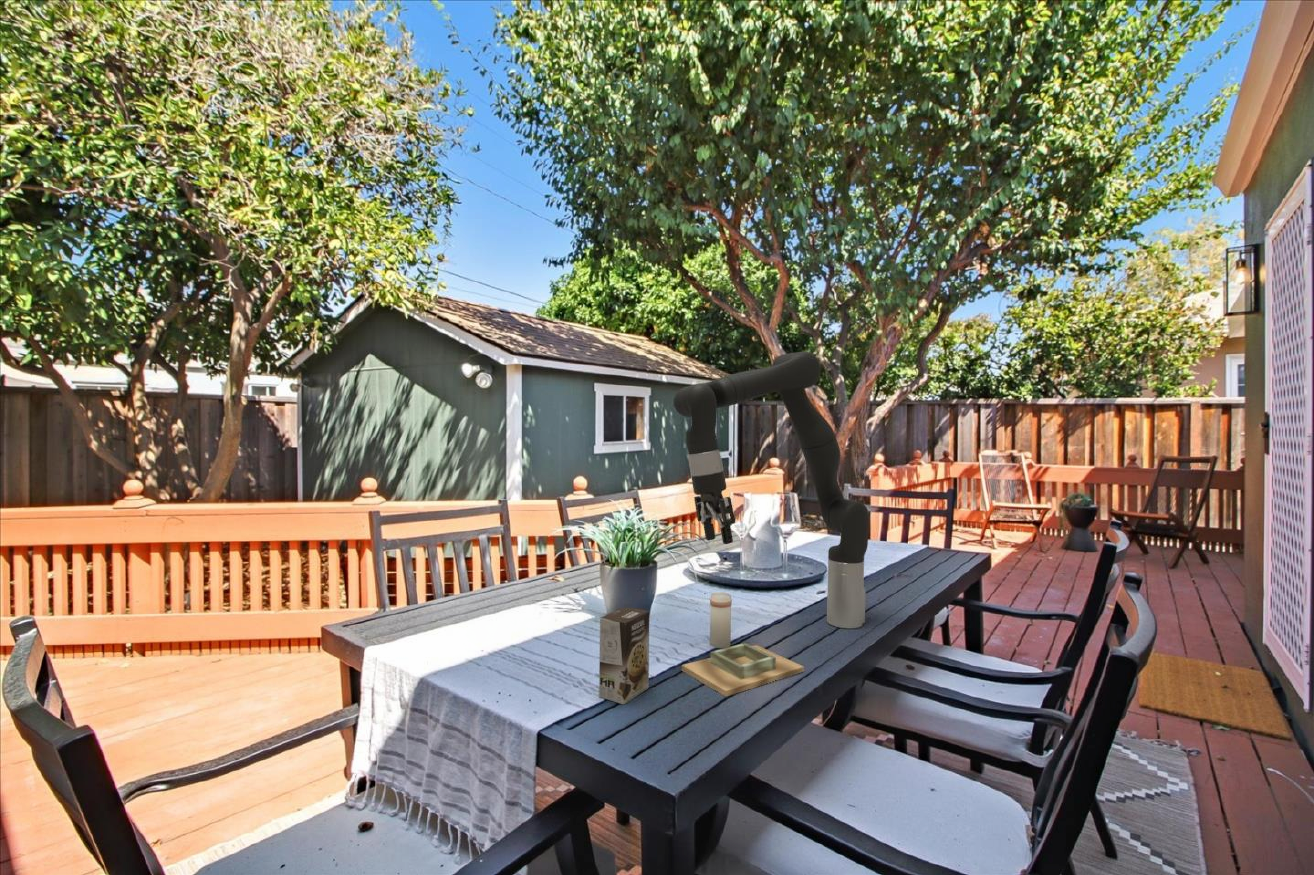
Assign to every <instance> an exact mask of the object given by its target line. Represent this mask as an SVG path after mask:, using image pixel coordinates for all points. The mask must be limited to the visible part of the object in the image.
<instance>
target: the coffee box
mask: <svg viewBox="0 0 1314 875" xmlns="http://www.w3.org/2000/svg"><path fill="white" fill-rule="evenodd" d="M598 671H599V673H598V674H599V675H598V677H599V679H598V697H599V698H602V699H605V700H608V701H611V702H613V703H614V702H615V703H618V704H621V705H625V704H627V703H628V702H630V701H631V700H633V699H634V698H636V697H638V696H639V695H640V694H642V693H644V692H645V691H647V690H648V689H649V684H650V683H649V680H650V679H649V678H650V677H649V675H650V672H649V671H650V611H649V610H645V609H641V608H636V607H635V608H634V607H629V606H623V607H622V608H620V609H617V610H615V611H613V612H610V613H608V614H606V615H603V616H600V618H599V670H598Z"/></svg>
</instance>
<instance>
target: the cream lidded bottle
mask: <svg viewBox="0 0 1314 875" xmlns="http://www.w3.org/2000/svg"><path fill="white" fill-rule="evenodd" d="M732 601H733V599H732V595H731V594H729V593H726V592H714V593H711V594H710V598H709V605H710V611H709V612H710V614H709V622H710V624H709V645H710V646H711V647H712V648H715V647H717V648H716V649H724V648H728V647H731V646H732V645H731V642H732V641H731V639H732V631H731V629H732V604H733V602H732Z"/></svg>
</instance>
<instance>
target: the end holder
mask: <svg viewBox="0 0 1314 875" xmlns="http://www.w3.org/2000/svg"><path fill="white" fill-rule="evenodd" d="M681 671H682V672H684V673H685V674H687V676H689V677H692V678H693V679H695V678H696V679H695V680H697V681H698V680H699V682H700V683H702V684H704V686H707V687H708V688H710V689H712V690H714V691H715V690H716V692H717V691H718V693H719V694H720V695H722V696H723V697H725V696H726V697H729V696H733V695H737V694H740V693H743V692H746V691H748V689H749V690H752V689H754V688H758V686H759V687H760V686H761V685H762V686H764V684H765V685H767V684H766V683H768V682H771V683H773V682H772V681H774V682H776V681H775V680H777V681H779V680H778V679H780V678H784V679H786V678H785V677H787V678H789V677H788V676H790V677H792V676H791V675H793V676H795V675H794V674H796V675H798V674H797V673H799V672H801V671H804V672H805V666H803V665H801V664H799V663H797V662H794V661H793V660H791V659H788V658H786V657H784V656H781V655H779V654H777V653H775V652H773V651H771V650H768V649H766V648H764V647H762V646H760V645H759V644H758V645H750V644H748V643H746V642H744V643H740V644H735V645H731V646H730V647H728V648H719V649H717V650H714V651H710V657H708V658H704V659H700V660H697V661H692V662H689V663H685V664H682V665H681ZM768 684H769V683H768ZM745 690H746V691H745ZM742 691H743V692H742Z"/></svg>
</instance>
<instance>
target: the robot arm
mask: <svg viewBox="0 0 1314 875" xmlns="http://www.w3.org/2000/svg"><path fill="white" fill-rule="evenodd" d="M821 373H822V367H821V363H820V360H819V359H818V358H817V356H816V355H814V354H813V353H811V352H808V351H807V352H806V351H799V352H798V351H797V352H789V353H784V354H780V355H778V356H776V357H775V359H774V360H773V362H772V364H771V366H768V367H762V368H757V369H752V370H751V369H750V370H745V371H740V372H736V373H732V374H728V375H724V376H722V377H719V378H716V379H714V380H711V381H707V382H702V383H701V382H700V383H695V384H691V385H688V386H684V387H682V388H680V389H679V390H678V391H677V392H676V394H675V395H674V397H673V407H674V409H675V411H676V412H677V413H678V414H679V415H681V416H683V417H687V418H691V419H690V422H691V423H690V428H688V429H687V430H686V431H685V442H686V443H685V444H686V449H687V454H688V466H689V470H690V471H689V472H690V473H689V474H690V477H691V483H692V490H693V494H694V495H697V496H694V498H693V500H694V505H695V506H694V507H695V512H696V518H697V522H701V525H702V526H703V531H704V534H705V535H704V536H705V540H706V541H712V540H715V539H716V534H715V526H714V523H713V521H714V520H715V521H717V523H718V524H719V526H720V533H721V534H720V535H721V540H722V543H723V544H724V545H729V544H732V543H733V541H734V540H733V539H734V538H733V533H732V527H731V526H732V525H734V524H736V518H735V514H734V508H733V503H732V498H731V497H730V496H726V497H724V496H723V493H722V492H723V491H725V490H727V482H726V477H725V472H724V466H723V460H722V456H721V453H720V450H719V443H718V437H717V433H716V432H717V431H716V429H717V418H718V416H717V415H718V409H719V408H726V407H731V406H733V405H737V404H741V403H745V402H748V401H750V400H754V399H757V398H760V397H762V396H765V395H769V394H773V393H777V392H778V394H779V396H780V398H781V399H782V400H781V401H782V402H783V404H784V407H785V408H786V410H787V413H788V416H789V419H790V420H791V423H792V426H793V429H794V432H795V434H796V436H797V440H798V443H799V446H800V450H801V452H802V455H803V458H804V460H805V462H806V464H807V467H808V468H807V469H808V471H809V474H810V477H811V480H812V483H813V486H814V488H815V493H816V496H817V497H816V498H817V501H818V505H819V508H820V513H821V517H822V520H823V523H824V525H825V526H826V528H827V529H829V530H830V531H832V532H835V533H838V534H840V541H839V544H837V545H833V546H830V547H829V548H828V553H827V596H826V597H827V598H826V600H827V602H826V621H827V624H829V625H831V626H834V627H837V628H842V629H858V628H861V627H863V624H865V623H866V591H867V590H866V588H865V586H864V585H865V584H864V582H865V580H864V579H865V578H864V576H865V555H866V553H867V550H868V545H869V533H870V532H869V530H870V513H869V510H868V508H867V506H866V504H864V503H862V502H861V501H858V500H853V499H846V498H845V497H844V494H842V490H841V489H840V485H839V481H838V473H839V469H840V464H841V450H840V446H839V442H838V440H837V438H836V434H835V431H834V429H833V428H832V426H831V425H830V423H829V422H828V421H827V420H826V419H825V417H824V416H823V415H822V414H821V412H819V411H818V410H817V408H816V407H815V406H814V405H813V404H812V401H811V400H810V398H809V397H808V396H809V395H808V394H807V391H806V389H809V388H811V387H813V386H814V385H815V384H817V383H818V381H819V380H820V377H821V375H822V374H821Z"/></svg>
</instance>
